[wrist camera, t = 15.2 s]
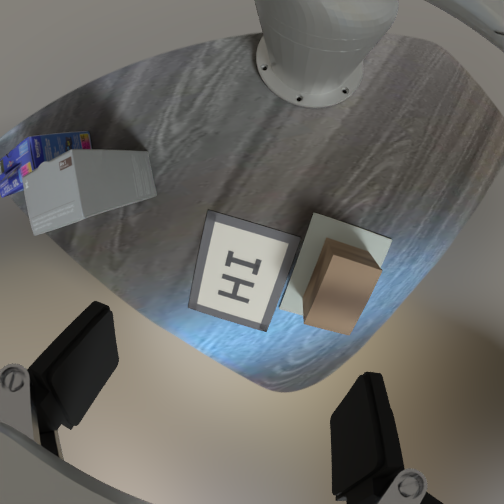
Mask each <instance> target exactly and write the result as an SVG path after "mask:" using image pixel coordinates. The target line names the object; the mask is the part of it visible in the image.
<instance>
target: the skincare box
mask: <svg viewBox="0 0 504 504" xmlns="http://www.w3.org/2000/svg"><path fill="white" fill-rule="evenodd" d="M22 181H23V187H24V193H25V199H26V204H27V209H28V214H29V219H30V223H31V227H32V230H33V233H34V235H38V234H42V233H45V232H48V231H51V230H54V229H57V228H60V227H63V226H66V225H69V224H72V223H75V222H78V221H80V220H83V219H85V218H88V217H91V216H94V215H97V214H100V213H103V212H106V211H109V210H112V209H116V208H119V207H122V206H126V205H129V204H133V203H136V202H139V201H143V200H146V199H149V198H152V197H155V196H156V195H157V192H156V188H155V183H154V179H153V174H152V169H151V164H150V160H149V155H148V151H133V150H104V149H71V150H69V151H67V152H65V153H63V154H61V155H59V156H58V157H56V158H54V159H52V160H51V161H45V162H43V163H41V164H40V165H39V167H38V168H36V169H35V170H33V171H31V172H30V173H28V174H27V175H25V176H24V177H23V178H22Z"/></svg>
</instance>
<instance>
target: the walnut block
mask: <svg viewBox="0 0 504 504" xmlns="http://www.w3.org/2000/svg"><path fill="white" fill-rule="evenodd" d="M381 273H382V269H381V268H380V267H379V265H378V264H377V262H376V261H375V260H374V258H373V257H372V255H371V254H370V253H369V252H368V251H366V250H363V249H360V248H357V247H354V246H351V245H348V244H345V243H342V242H339V241H336V240H333V239H330V238H327V237H326V240H325V242H324V245H323V248H322V250H321V253H320V255H319V258H318V261H317V263H316V266H315V268H314V271H313V273H312V276H311V278H310V281H309V283H308V286H307V288H306V291H305V293H304V296H303V298H302V302H303V319H304V324H306V325H310V326H314V327H318V328H322V329H325V330H329V331H333V332H337V333H341V334H345V335H350V334H351V332H352V330H353V328H354V326H355V324H356V323H357V321H358V319H359V317H360V315H361V313H362V311H363V309H364V307H365V306H366V304H367V302H368V300H369V298H370V296H371V294H372V292H373V289H374V287H375V285H376V283H377V281H378V279H379V277H380V275H381Z"/></svg>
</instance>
